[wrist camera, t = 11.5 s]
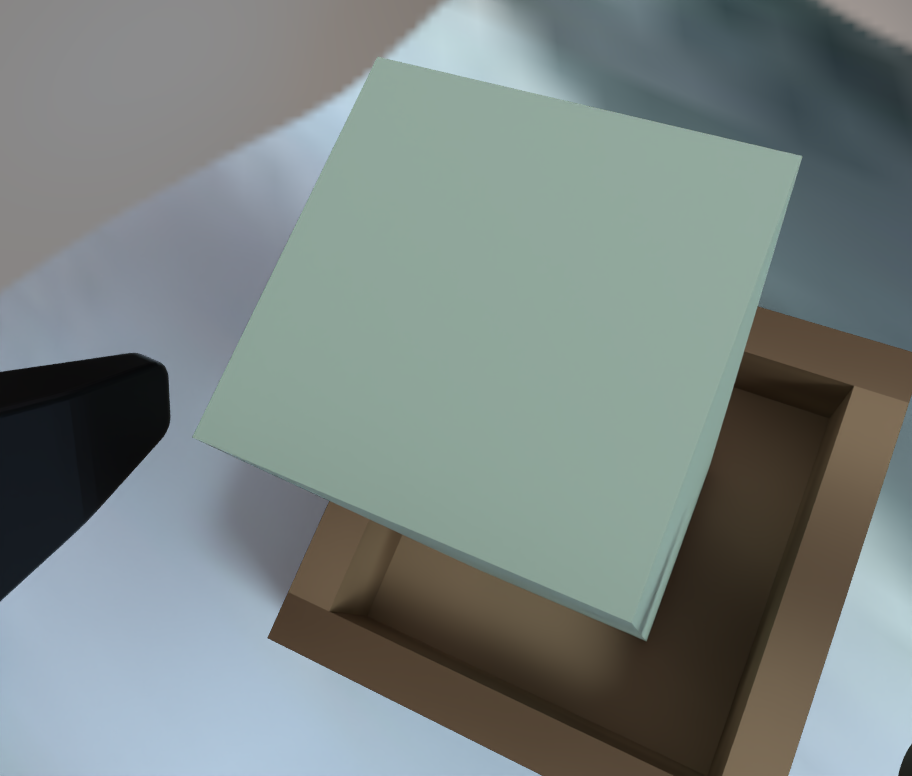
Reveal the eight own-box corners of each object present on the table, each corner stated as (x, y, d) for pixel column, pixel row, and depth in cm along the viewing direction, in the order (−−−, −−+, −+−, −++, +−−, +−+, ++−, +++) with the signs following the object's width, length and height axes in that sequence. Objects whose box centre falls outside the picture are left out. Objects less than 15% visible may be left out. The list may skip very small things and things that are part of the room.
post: (646, 641, 18) (631, 623, 6) (477, 569, 20) (192, 437, 7) (708, 469, 19) (801, 156, 7) (542, 410, 20) (377, 56, 8)
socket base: (737, 844, 17) (753, 881, 15) (320, 639, 20) (267, 638, 18) (884, 398, 19) (924, 355, 16) (482, 272, 22) (457, 217, 20)
